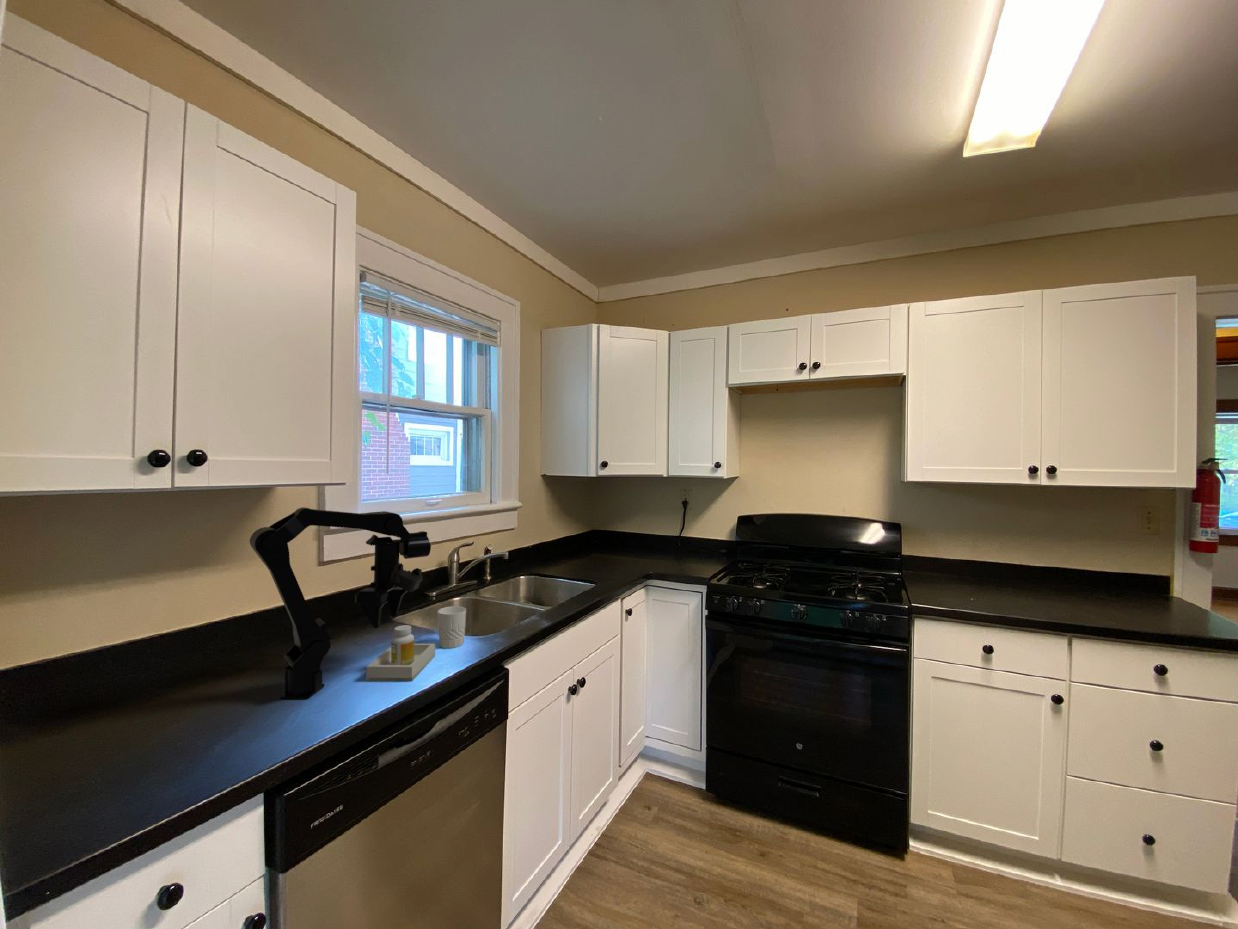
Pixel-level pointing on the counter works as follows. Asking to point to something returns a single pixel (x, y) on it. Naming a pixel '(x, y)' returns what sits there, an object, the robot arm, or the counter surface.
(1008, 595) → the counter surface
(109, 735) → the counter surface
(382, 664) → the box
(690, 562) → the counter surface
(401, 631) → the supplement bottle
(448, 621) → the white cup
